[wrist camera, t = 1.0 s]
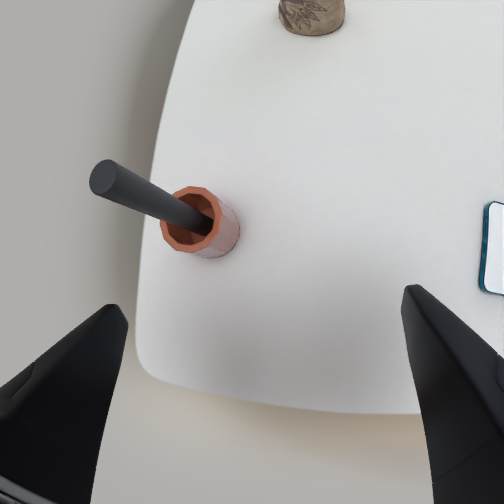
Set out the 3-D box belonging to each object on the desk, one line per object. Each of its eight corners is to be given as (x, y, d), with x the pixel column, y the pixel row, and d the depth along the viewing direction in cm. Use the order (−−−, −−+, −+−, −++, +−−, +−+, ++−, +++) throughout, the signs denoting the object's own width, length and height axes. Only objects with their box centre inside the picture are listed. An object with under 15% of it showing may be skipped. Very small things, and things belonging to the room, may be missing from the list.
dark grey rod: (222, 234, 24) (119, 184, 10) (205, 241, 24) (90, 201, 11) (216, 217, 24) (113, 152, 11) (199, 223, 24) (86, 169, 11)
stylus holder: (247, 246, 24) (230, 237, 19) (197, 265, 24) (169, 261, 20) (230, 195, 24) (210, 176, 20) (182, 215, 25) (153, 202, 20)
